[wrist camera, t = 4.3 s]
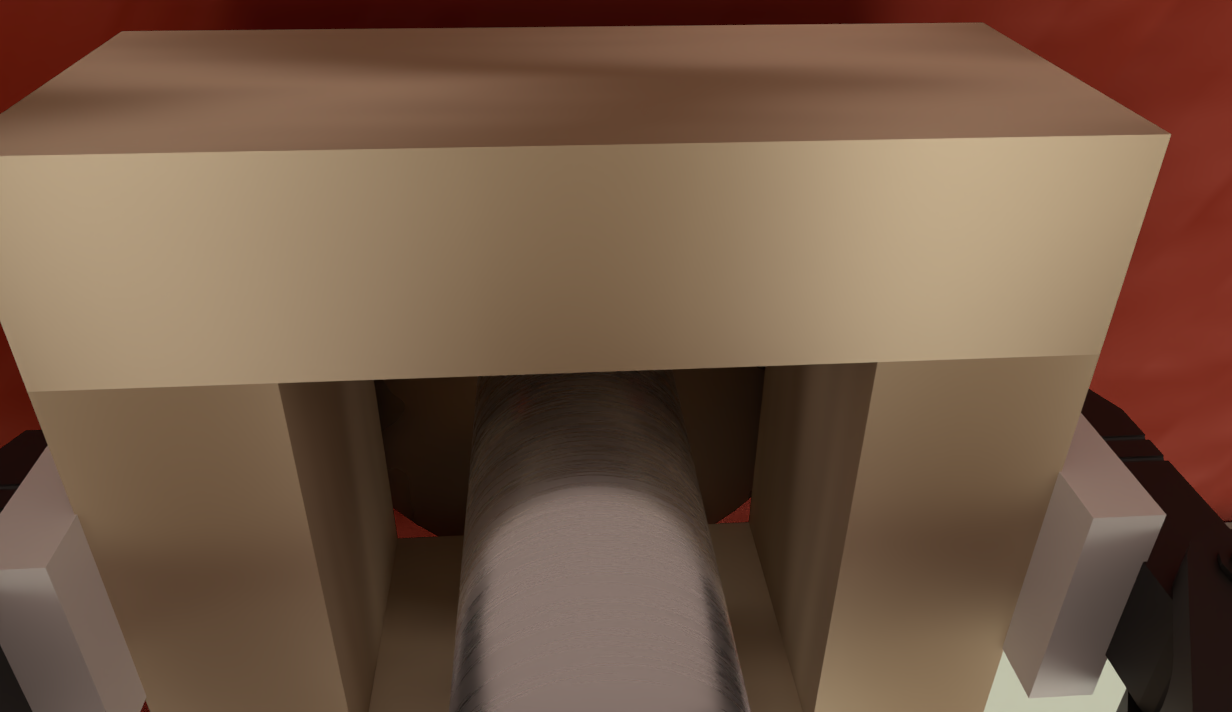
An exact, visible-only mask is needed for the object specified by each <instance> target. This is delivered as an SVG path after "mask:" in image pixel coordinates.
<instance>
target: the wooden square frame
mask: <svg viewBox="0 0 1232 712" xmlns="http://www.w3.org/2000/svg"><path fill="white" fill-rule="evenodd" d="M1170 136H1171V134H1170V133H1168V132H1167V131H1165V130H1163V129H1161V128H1160V127H1158V126H1156V125H1155V124H1153V123H1151V122H1150V121H1148V120H1146V119H1145V118H1143V117H1141V116H1140V115H1138V114H1136V113H1134V112H1133V111H1131V110H1129V109H1128V108H1126V107H1124V106H1123V105H1121V104H1119V103H1118V102H1116V101H1114V100H1113V99H1111V98H1109V97H1107V96H1106V95H1104V94H1102V93H1101V92H1099V91H1097V90H1096V89H1094V88H1092V87H1091V86H1089V85H1087V84H1086V83H1084V82H1082V81H1080V80H1079V79H1077V78H1075V77H1074V76H1072V75H1070V74H1069V73H1067V72H1065V71H1064V70H1062V69H1060V68H1059V67H1057V66H1055V65H1053V64H1052V63H1050V62H1048V61H1047V60H1045V59H1043V58H1042V57H1040V56H1038V55H1037V54H1035V53H1033V52H1032V51H1030V50H1028V49H1026V48H1025V47H1023V46H1021V45H1020V44H1018V43H1016V42H1015V41H1013V40H1011V39H1010V38H1008V37H1006V36H1005V35H1003V34H1001V33H999V32H998V31H996V30H994V29H993V28H991V27H989V26H988V25H986V24H984V23H895V24H795V25H696V26H596V27H496V28H397V29H297V30H198V31H122V32H120V33H119V34H117V35H116V36H114V37H113V38H111V39H110V40H108V41H107V42H106V43H104V44H103V45H101V46H100V47H98V48H97V49H95V50H94V51H92V52H91V53H89V54H88V55H86V56H85V57H84V58H82V59H81V60H79V61H78V62H76V63H75V64H73V65H72V66H70V67H69V68H67V69H66V70H64V71H63V72H62V73H60V74H59V75H57V76H56V77H54V78H53V79H51V80H50V81H48V82H47V83H45V84H44V85H42V86H41V87H40V88H38V89H37V90H35V91H34V92H32V93H31V94H29V95H28V96H26V97H25V98H23V99H22V100H20V101H19V102H18V103H16V104H15V105H13V106H12V107H10V108H9V109H7V110H6V111H4V112H3V113H1V114H0V322H1V324H2V327H3V330H4V332H5V335H6V337H7V340H8V343H9V345H10V348H11V350H12V353H13V356H14V358H15V361H16V364H17V366H18V369H19V371H20V374H21V377H22V379H23V382H24V384H25V387H26V390H27V392H28V395H29V397H30V400H31V403H32V405H33V408H34V410H35V413H36V416H37V418H38V421H39V423H40V426H41V429H42V431H43V434H44V437H45V439H46V442H47V444H48V447H49V450H50V452H51V455H52V457H53V460H54V463H55V465H56V468H57V470H58V473H59V476H60V478H61V481H62V483H63V486H64V489H65V491H66V494H67V496H68V499H69V502H70V504H71V507H72V509H73V512H74V515H77V516H78V518H79V521H80V524H81V526H82V529H83V531H84V534H85V537H86V539H87V542H88V544H89V547H90V550H91V552H92V555H93V558H94V560H95V563H96V565H97V568H98V571H99V573H100V576H101V579H102V581H103V584H104V586H105V589H106V592H107V594H108V597H109V600H110V602H111V605H112V607H113V610H114V613H115V615H116V618H117V620H118V623H119V626H120V628H121V631H122V634H123V636H124V639H125V641H126V644H127V647H128V649H129V652H130V655H131V657H132V660H133V662H134V665H135V668H136V670H137V673H138V675H139V678H140V681H141V683H142V686H143V689H144V691H145V694H146V696H147V697H146V699H145V700H146V702H147V705H148V708H149V710H150V712H449V706H450V694H451V682H452V670H453V659H454V647H455V635H456V624H457V612H458V600H459V588H460V577H461V565H462V553H463V542H464V535H461V536H439V537H418V538H397V531H396V525H395V518H394V511H393V505H392V498H391V492H390V485H389V478H388V472H387V465H386V458H385V452H384V445H383V439H382V432H381V425H380V419H379V412H378V405H377V399H376V392H375V386H374V380H382V379H411V378H439V377H468V376H497V375H525V374H554V373H582V372H611V371H640V370H668V369H697V368H725V367H754V366H765V376H764V385H763V394H762V404H761V413H760V422H759V431H758V441H757V450H756V459H755V468H754V478H753V487H752V496H751V505H750V515H749V522H742V523H720V524H708V527H709V531H710V536H711V540H712V544H713V549H714V553H715V557H716V562H717V566H718V571H719V575H720V579H721V584H722V588H723V592H724V597H725V601H726V605H727V610H728V614H729V618H730V623H731V627H732V632H733V636H734V640H735V645H736V649H737V653H738V658H739V662H740V666H741V671H742V675H743V679H744V684H745V688H746V693H747V697H748V701H749V706H750V710H751V712H984V709H985V706H986V703H987V700H988V696H989V693H990V690H991V687H992V684H993V681H994V678H995V675H996V672H997V669H998V666H999V663H1000V659H1001V656H1002V653H1003V649H1002V647H1003V644H1004V641H1005V638H1006V635H1007V632H1008V629H1009V625H1010V622H1011V619H1012V616H1013V613H1014V610H1015V607H1016V604H1017V601H1018V598H1019V595H1020V591H1021V588H1022V585H1023V582H1024V579H1025V576H1026V573H1027V570H1028V567H1029V564H1030V561H1031V557H1032V554H1033V551H1034V548H1035V545H1036V542H1037V539H1038V536H1039V533H1040V530H1041V527H1042V523H1043V520H1044V517H1045V514H1046V511H1047V508H1048V505H1049V502H1050V499H1051V496H1052V493H1053V489H1054V486H1055V483H1056V480H1057V477H1058V474H1059V472H1062V469H1063V466H1064V463H1065V459H1066V456H1067V453H1068V450H1069V447H1070V444H1071V441H1072V438H1073V435H1074V432H1075V429H1076V426H1077V423H1078V419H1079V416H1080V413H1081V410H1082V407H1083V404H1084V401H1085V398H1086V395H1087V392H1088V389H1089V386H1090V383H1091V379H1092V376H1093V373H1094V370H1095V367H1096V364H1097V361H1098V358H1099V355H1100V352H1101V349H1102V346H1103V343H1104V339H1105V336H1106V333H1107V330H1108V327H1109V324H1110V321H1111V318H1112V315H1113V312H1114V309H1115V306H1116V303H1117V299H1118V296H1119V293H1120V290H1121V287H1122V284H1123V281H1124V278H1125V275H1126V272H1127V269H1128V266H1129V263H1130V259H1131V256H1132V253H1133V250H1134V247H1135V244H1136V241H1137V238H1138V235H1139V232H1140V229H1141V226H1142V223H1143V219H1144V216H1145V213H1146V210H1147V207H1148V204H1149V201H1150V198H1151V195H1152V192H1153V189H1154V186H1155V183H1156V179H1157V176H1158V173H1159V170H1160V167H1161V164H1162V161H1163V158H1164V155H1165V152H1166V149H1167V146H1168V143H1169V139H1170Z"/></svg>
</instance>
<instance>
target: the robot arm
mask: <svg viewBox="0 0 1232 712" xmlns="http://www.w3.org/2000/svg"><path fill="white" fill-rule="evenodd" d="M1002 649H1003V651H1004V653H1005V654H1006V656H1007V658H1008V660H1009V662H1010V664H1011V666H1012V668H1013V670H1014V671H1015V673H1016V675H1017V677H1018V679H1019V681H1020V683H1021V685H1022V687H1023V688H1024V690H1025V692H1026V694H1027V696H1028V698H1045V697H1062V696H1078V695H1092V694H1093V692H1094V690H1095V687H1096V685H1097V682H1098V680H1099V677H1100V675H1101V673H1102V670H1103V668H1104V665H1105V663H1106V660H1107V658H1108V660H1109V662H1110V663H1111V665H1112V666H1113V668H1114V669H1115V671H1116V673H1117V674H1118V676H1119V677H1120V679H1121V680H1122V682H1123V683H1124V685H1125V687H1126V690H1125V692H1124V695H1123V697H1122V699H1121V702H1120V704H1119V706H1118V708H1117V711H1116V712H1232V529H1230V528H1229V527H1228V526H1227V525H1226V524H1225V523H1224V522H1223V521H1222V520H1221V518H1220V517H1219V516H1218V515H1217V514H1216V513H1215V512H1214V511H1213V510H1212V508H1211V507H1210V506H1209V505H1208V504H1207V503H1206V502H1205V501H1204V500H1203V498H1202V497H1201V496H1200V495H1199V494H1198V493H1197V492H1196V491H1195V490H1194V489H1193V487H1192V486H1191V485H1190V484H1189V483H1188V482H1187V481H1186V480H1185V479H1184V477H1183V476H1182V475H1181V474H1180V473H1179V472H1178V471H1177V470H1176V469H1175V467H1174V466H1173V465H1172V464H1171V463H1170V462H1169V461H1164V459H1163V454H1162V453H1161V452H1160V451H1159V450H1158V449H1157V448H1156V446H1155V445H1154V444H1153V443H1152V442H1151V441H1150V440H1145V434H1144V433H1143V432H1142V431H1141V430H1140V429H1139V428H1138V427H1137V425H1136V424H1135V423H1134V422H1133V421H1132V420H1131V419H1130V418H1129V417H1128V415H1127V414H1126V413H1125V412H1124V411H1123V410H1122V409H1120V408H1119V407H1117V406H1116V405H1114V404H1112V403H1111V402H1109V401H1108V400H1106V399H1104V398H1103V397H1101V396H1100V395H1098V394H1096V393H1095V392H1093V391H1091V390H1090V389H1088V392H1087V395H1086V398H1085V401H1084V404H1083V407H1082V410H1081V413H1080V416H1079V419H1078V423H1077V426H1076V429H1075V432H1074V435H1073V438H1072V441H1071V444H1070V447H1069V450H1068V453H1067V456H1066V459H1065V463H1064V466H1063V469H1062V472H1059V474H1058V477H1057V480H1056V483H1055V486H1054V489H1053V493H1052V496H1051V499H1050V502H1049V505H1048V508H1047V511H1046V514H1045V517H1044V520H1043V523H1042V527H1041V530H1040V533H1039V536H1038V539H1037V542H1036V545H1035V548H1034V551H1033V554H1032V557H1031V561H1030V564H1029V567H1028V570H1027V573H1026V576H1025V579H1024V582H1023V585H1022V588H1021V591H1020V595H1019V598H1018V601H1017V604H1016V607H1015V610H1014V613H1013V616H1012V619H1011V622H1010V625H1009V629H1008V632H1007V635H1006V638H1005V641H1004V644H1003V647H1002ZM146 697H147V696H146V694H145V691H144V689H143V686H142V683H141V681H140V678H139V675H138V673H137V670H136V668H135V665H134V662H133V660H132V657H131V655H130V652H129V649H128V647H127V644H126V641H125V639H124V636H123V634H122V631H121V628H120V626H119V623H118V620H117V618H116V615H115V613H114V610H113V607H112V605H111V602H110V600H109V597H108V594H107V592H106V589H105V586H104V584H103V581H102V579H101V576H100V573H99V571H98V568H97V565H96V563H95V560H94V558H93V555H92V552H91V550H90V547H89V544H88V542H87V539H86V537H85V534H84V531H83V529H82V526H81V524H80V521H79V518H78V516H77V515H74V512H73V509H72V507H71V504H70V502H69V499H68V496H67V494H66V491H65V489H64V486H63V483H62V481H61V478H60V476H59V473H58V470H57V468H56V465H55V463H54V460H53V457H52V455H51V452H50V450H49V447H48V444H47V442H46V439H45V437H44V434H43V431H42V430H26V431H24V432H23V433H22V434H20V435H19V436H17V437H16V438H15V439H13V440H12V441H10V442H9V443H8V444H6V445H5V446H3V447H2V448H1V449H0V712H140V711H141V709H142V706H143V704H144V702H145V699H146Z"/></svg>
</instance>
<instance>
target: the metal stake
mask: <svg viewBox="0 0 1232 712" xmlns="http://www.w3.org/2000/svg"><path fill="white" fill-rule="evenodd" d="M764 376H765V366H754V367H725V368H697V369H668V370H640V371H611V372H582V373H554V374H525V375H497V376H468V377H439V378H411V379H382V380H374V386H375V392H376V399H377V405H378V412H379V419H380V425H381V432H382V439H383V445H384V452H385V458H386V465H387V472H388V478H389V485H390V492H391V498H392V505H393V508H395V509H396V510H397V511H399V512H400V513H402V514H403V515H404V516H406V517H407V518H409V519H410V520H411V521H413V522H414V523H416V524H417V525H419V526H421V527H423V528H424V529H426V530H428V531H430V532H432V533H433V534H435V535H437V536H461V535H464V542H463V553H462V565H461V577H460V588H459V600H458V612H457V624H456V635H455V647H454V659H453V670H452V682H451V694H450V706H449V712H751V710H750V706H749V701H748V697H747V693H746V688H745V684H744V679H743V675H742V671H741V666H740V662H739V658H738V653H737V649H736V645H735V640H734V636H733V632H732V627H731V623H730V618H729V614H728V610H727V605H726V601H725V597H724V592H723V588H722V584H721V579H720V575H719V571H718V566H717V562H716V557H715V553H714V549H713V544H712V540H711V536H710V531H709V527H708V524H715V523H717V522H718V521H720V520H721V519H723V518H724V517H726V516H727V515H729V514H730V513H732V512H733V511H735V510H736V509H737V508H739V507H740V506H741V505H742V504H743V503H745V502H746V501H747V500H748V499H749V498H750V497H751V496H752V487H753V478H754V468H755V459H756V450H757V441H758V431H759V422H760V413H761V404H762V394H763V385H764Z"/></svg>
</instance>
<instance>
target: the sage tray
mask: <svg viewBox="0 0 1232 712" xmlns="http://www.w3.org/2000/svg"><path fill="white" fill-rule="evenodd" d="M1225 524H1226V525H1227V526H1228V527H1229V528H1230V529H1232V522H1226V523H1225ZM1125 690H1126V687H1125V685H1124V683H1123V682H1122V680H1121V679H1120V677H1119V676H1118V674H1117V673H1116V671H1115V669H1114V668H1113V666H1112V665H1111V663H1110V662H1109V660H1108V658H1107V660H1106V663H1105V665H1104V668H1103V670H1102V673H1101V675H1100V677H1099V680H1098V682H1097V685H1096V687H1095V690H1094V692H1093V694H1092V695H1078V696H1062V697H1045V698H1028V696H1027V694H1026V692H1025V690H1024V688H1023V687H1022V685H1021V683H1020V681H1019V679H1018V677H1017V675H1016V673H1015V671H1014V670H1013V668H1012V666H1011V664H1010V662H1009V660H1008V658H1007V656H1006V654H1005V653H1004V651H1003V653H1002V656H1001V659H1000V663H999V666H998V669H997V672H996V675H995V678H994V681H993V684H992V687H991V690H990V693H989V696H988V700H987V703H986V706H985V709H984V712H1116V711H1117V708H1118V706H1119V704H1120V702H1121V699H1122V697H1123V695H1124V692H1125Z"/></svg>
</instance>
